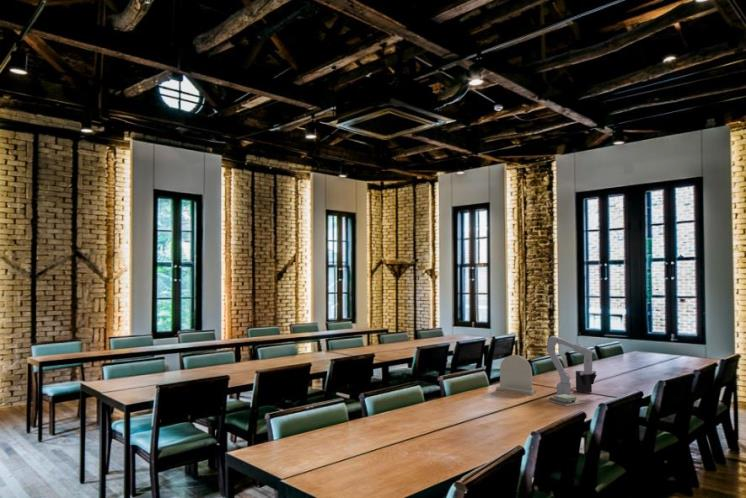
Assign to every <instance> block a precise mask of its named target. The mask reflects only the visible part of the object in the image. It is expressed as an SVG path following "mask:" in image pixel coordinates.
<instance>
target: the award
mask: <svg viewBox="0 0 746 498" xmlns="http://www.w3.org/2000/svg"><path fill="white" fill-rule="evenodd" d="M532 369H533V368H532V366H531V363H530V362H529V361H528V359H526V358H525V357H524V356H522V355H518V354H512V355H508V356H506V357H505V358H504V359H503V360H502V361H501V363H500V366H499V386H496V387H495V390H496V391H498V390H499V391H500V392H505V391H506V393H511V392H513V393H512V394H518V393H519V394H520V395H525V394H526V395H527V396H534V395H535V394H536V393H537V391H536V389H535V390H533V370H532ZM499 391H498V392H499ZM526 395H525V396H526Z"/></svg>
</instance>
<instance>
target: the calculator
mask: <svg viewBox="0 0 746 498" xmlns="http://www.w3.org/2000/svg"><path fill="white" fill-rule="evenodd" d="M583 371H584V370H576V371H575V391H576V392H586V393H587V392H588V393H589V392H590V393H591V392H592V391H593V390H592V388H593V386H592V385H593V384H590V377H589V374H587V375H586V376H588V377H587V380H586V385H583V382H582V379H581V377H580V372H583Z"/></svg>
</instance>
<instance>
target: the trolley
mask: <svg viewBox="0 0 746 498" xmlns="http://www.w3.org/2000/svg"><path fill="white" fill-rule="evenodd" d="M554 398H556V399H559V400H563V401H567V402H568V401H572V402H575V400H577V396H574V395H573V396H570V395H566V394H562V395H557V394H554Z"/></svg>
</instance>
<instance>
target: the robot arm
mask: <svg viewBox="0 0 746 498" xmlns="http://www.w3.org/2000/svg"><path fill="white" fill-rule="evenodd" d="M556 345H563V346H566V347H568V348H570V349H572V350H573V352H575V353H578V354H580V355H583V370H582V371H583V372H580V377H581V379H582V382H583V385H586V380H587V377H588V376H586V375H587V374H589V377H590V384H592V385H594V383H595V380H596V378H597V377H598V376H597V371H596V370H593V357H592V356H593V351H592V350H591V348H589V347H587V346H585V347H584V345H583V346H582V345H581V344H580V343H576V344H574V343H572V342H570V341H568V340H565V339H564V338H561V337H559V336H555V335H550V336H549V338H548V339H547V341H546V352H547V354H548V356H549V357H550V359H551V361H552V363H553V365H554V367H555V369H556V370H557V372H558V376H559V378H560V381H559V382H557V384H556V395H562V394H566V395H570V396H574V395H573V394H571V393H572V389H571V381H570V379H571V375H570V374H569V373H567V371H566V370H565V368H564V366H563V364H562V363H561V361H560V359H559V357H558V354H557V353H556V352H555V350H554V349H555V347H556Z"/></svg>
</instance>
